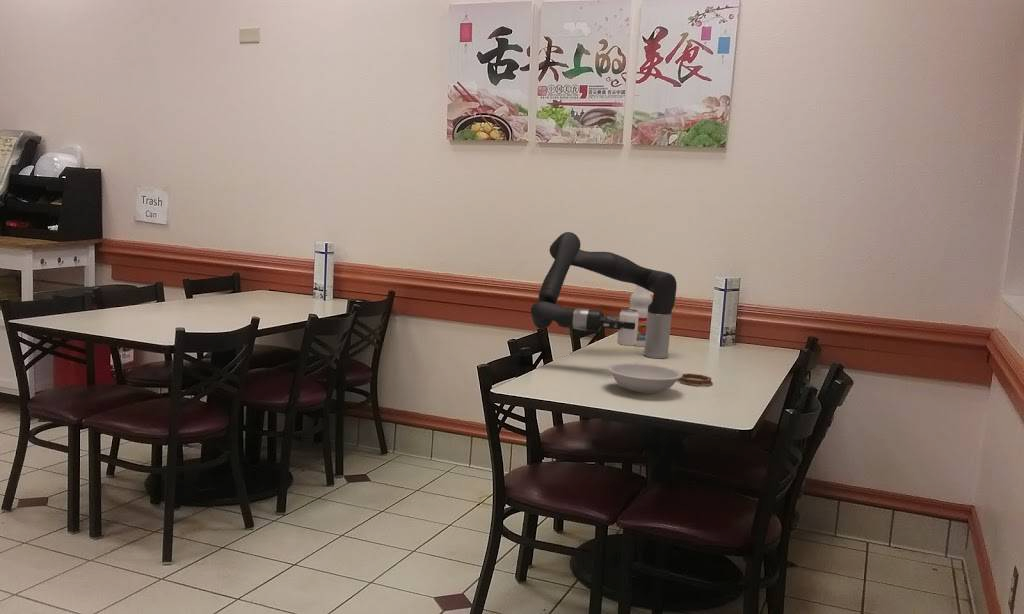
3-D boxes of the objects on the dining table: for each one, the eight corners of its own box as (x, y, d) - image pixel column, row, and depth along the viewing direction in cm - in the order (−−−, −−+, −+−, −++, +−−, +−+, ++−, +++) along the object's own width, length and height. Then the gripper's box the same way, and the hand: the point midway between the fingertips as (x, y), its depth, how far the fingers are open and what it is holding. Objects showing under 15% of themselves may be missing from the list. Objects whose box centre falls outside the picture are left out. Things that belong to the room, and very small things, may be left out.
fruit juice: (631, 341, 359) (637, 276, 356) (651, 344, 354) (657, 279, 351) (622, 344, 352) (627, 277, 348) (642, 347, 347) (648, 280, 343)
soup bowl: (602, 380, 280) (603, 360, 279) (674, 385, 279) (676, 365, 278) (608, 397, 256) (610, 376, 255) (687, 402, 255) (689, 381, 255)
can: (635, 346, 286) (638, 312, 284) (616, 344, 287) (619, 310, 285) (636, 343, 292) (639, 309, 290) (617, 341, 293) (620, 307, 292)
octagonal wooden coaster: (677, 376, 292) (678, 371, 292) (712, 381, 289) (713, 375, 289) (675, 383, 281) (675, 378, 280) (711, 388, 278) (712, 382, 277)
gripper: (584, 311, 285) (634, 316, 281) (591, 306, 299) (639, 311, 294) (582, 333, 286) (632, 339, 282) (590, 327, 300) (637, 332, 295)
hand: (635, 325), depth 288 cm, fingers closed on can, 5 cm apart
